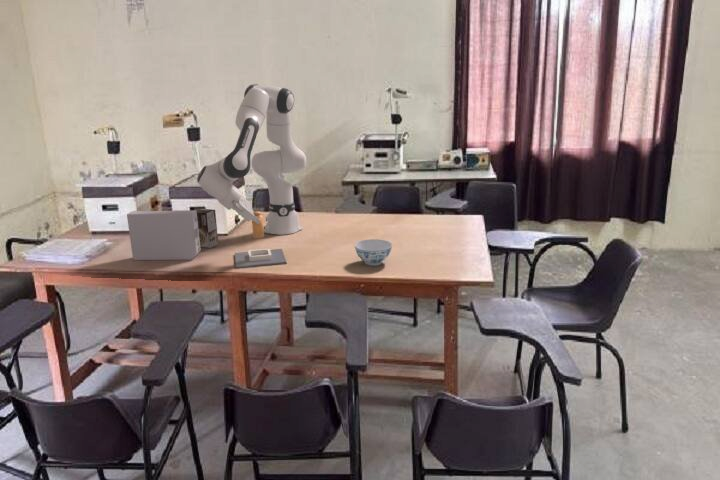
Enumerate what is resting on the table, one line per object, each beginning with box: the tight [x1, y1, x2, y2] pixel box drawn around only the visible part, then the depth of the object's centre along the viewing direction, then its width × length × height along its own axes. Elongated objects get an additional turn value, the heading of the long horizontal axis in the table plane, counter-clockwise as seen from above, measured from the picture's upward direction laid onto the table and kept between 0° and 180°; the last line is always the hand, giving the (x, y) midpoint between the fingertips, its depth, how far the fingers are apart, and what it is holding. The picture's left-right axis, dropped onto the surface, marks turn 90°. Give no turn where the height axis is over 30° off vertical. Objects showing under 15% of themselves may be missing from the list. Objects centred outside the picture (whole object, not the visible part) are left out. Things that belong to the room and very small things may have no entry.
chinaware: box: [354, 238, 393, 267], centre depth 236 cm, size 15×15×8 cm
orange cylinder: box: [251, 210, 265, 239], centre depth 240 cm, size 4×4×10 cm
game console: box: [126, 209, 201, 261], centre depth 246 cm, size 6×27×20 cm, turn 88°
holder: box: [234, 248, 288, 269], centre depth 244 cm, size 18×20×3 cm
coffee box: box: [195, 207, 219, 249], centre depth 263 cm, size 9×6×16 cm
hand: (259, 220), depth 240 cm, fingers closed on orange cylinder, 4 cm apart
